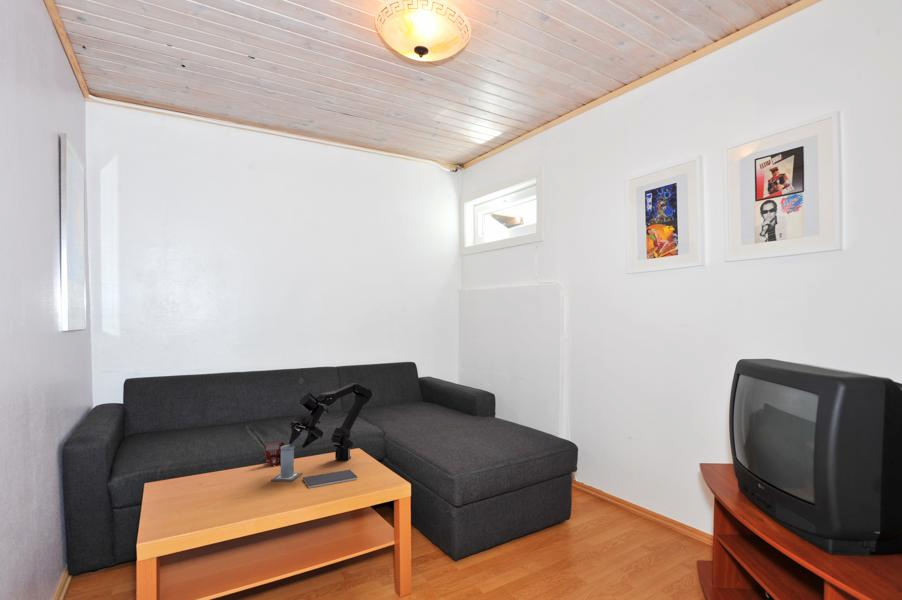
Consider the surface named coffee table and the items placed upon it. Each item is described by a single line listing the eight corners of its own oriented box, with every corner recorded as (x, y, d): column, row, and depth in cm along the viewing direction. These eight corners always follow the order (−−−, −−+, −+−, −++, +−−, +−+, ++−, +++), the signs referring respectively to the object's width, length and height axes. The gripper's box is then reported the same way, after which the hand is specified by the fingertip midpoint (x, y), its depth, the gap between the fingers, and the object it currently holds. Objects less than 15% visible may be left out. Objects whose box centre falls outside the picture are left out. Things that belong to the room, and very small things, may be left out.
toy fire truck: (292, 462, 231) (292, 441, 232) (266, 467, 224) (266, 445, 225) (288, 459, 237) (288, 439, 238) (263, 464, 230) (263, 443, 231)
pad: (302, 474, 213) (302, 472, 213) (292, 481, 203) (292, 479, 203) (281, 473, 214) (281, 472, 214) (270, 481, 204) (270, 479, 204)
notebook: (349, 472, 215) (302, 480, 205) (349, 469, 215) (302, 477, 205) (358, 480, 204) (308, 489, 194) (358, 476, 204) (308, 485, 194)
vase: (294, 473, 212) (295, 444, 213) (293, 477, 206) (293, 447, 207) (280, 474, 211) (281, 445, 211) (279, 478, 205) (279, 448, 205)
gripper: (292, 404, 223) (272, 433, 215) (318, 410, 213) (298, 440, 204) (305, 416, 230) (287, 445, 221) (331, 422, 220) (313, 452, 211)
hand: (296, 445), depth 214 cm, fingers open, 9 cm apart
